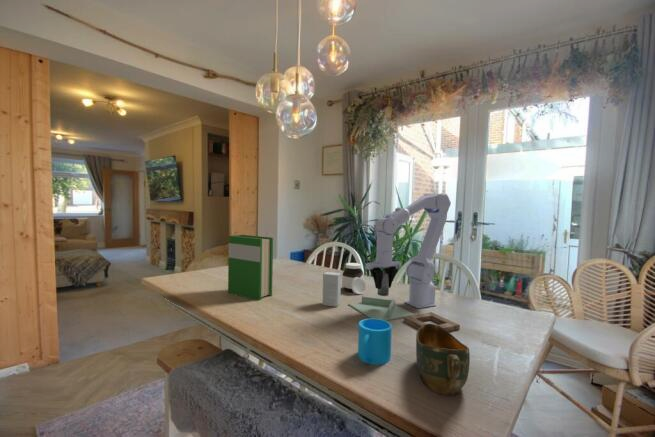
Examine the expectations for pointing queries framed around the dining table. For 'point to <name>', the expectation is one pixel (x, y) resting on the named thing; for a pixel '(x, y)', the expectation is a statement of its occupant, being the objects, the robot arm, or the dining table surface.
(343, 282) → the spread jar
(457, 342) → the cup
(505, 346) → the dining table surface
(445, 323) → the brown square frame
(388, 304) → the sage V-block
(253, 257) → the hardback book
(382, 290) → the metal axle
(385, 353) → the mug
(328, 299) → the skincare box
